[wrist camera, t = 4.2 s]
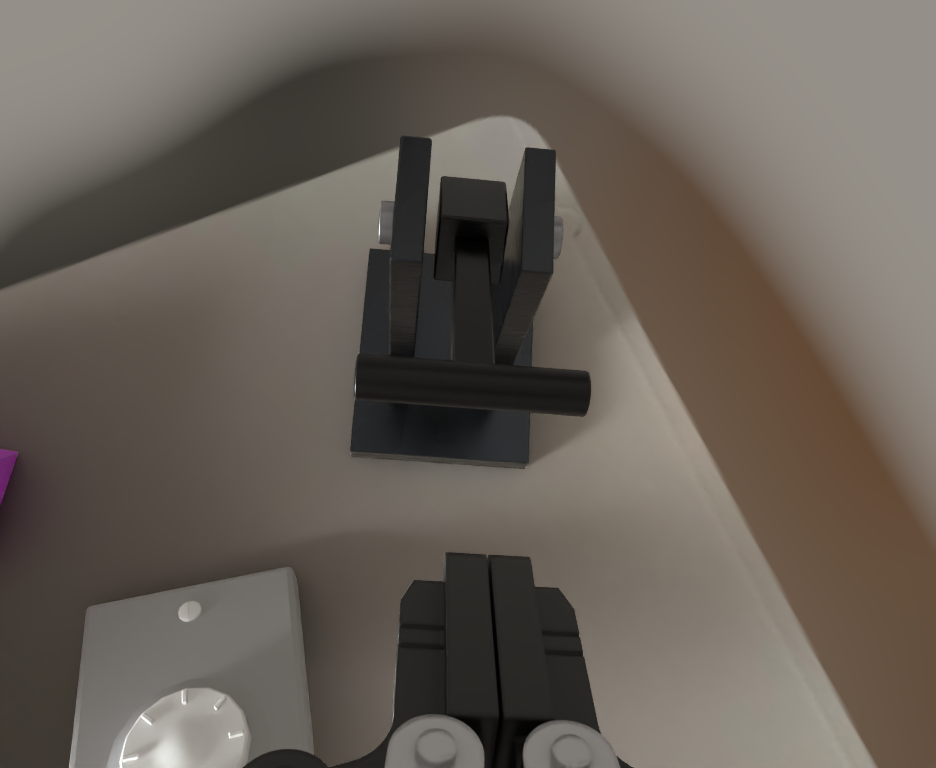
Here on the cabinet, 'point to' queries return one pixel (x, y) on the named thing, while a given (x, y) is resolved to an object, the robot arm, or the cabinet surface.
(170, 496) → the cabinet surface
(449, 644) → the robot arm
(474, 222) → the lever
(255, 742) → the light switch
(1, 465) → the crystal
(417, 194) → the bracket
